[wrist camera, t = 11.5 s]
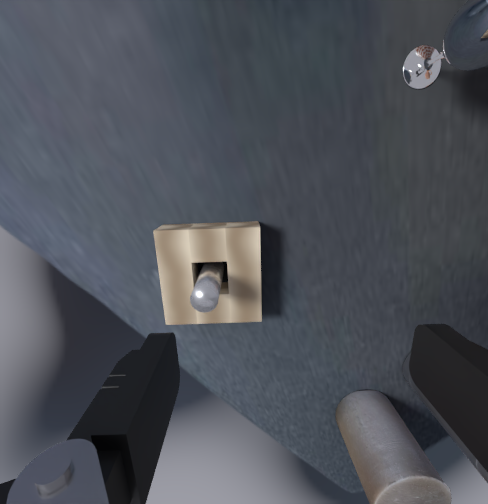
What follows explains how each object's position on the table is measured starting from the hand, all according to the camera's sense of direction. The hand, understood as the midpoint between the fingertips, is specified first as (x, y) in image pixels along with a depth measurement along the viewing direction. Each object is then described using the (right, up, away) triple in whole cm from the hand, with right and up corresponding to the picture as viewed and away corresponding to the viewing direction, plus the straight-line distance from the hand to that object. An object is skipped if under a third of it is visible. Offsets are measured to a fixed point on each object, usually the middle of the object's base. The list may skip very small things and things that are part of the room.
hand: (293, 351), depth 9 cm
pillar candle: (+19, -24, +37) cm, 48 cm away
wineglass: (+19, +25, +22) cm, 39 cm away
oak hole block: (-6, +1, +29) cm, 30 cm away
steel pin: (-6, +1, +29) cm, 30 cm away
